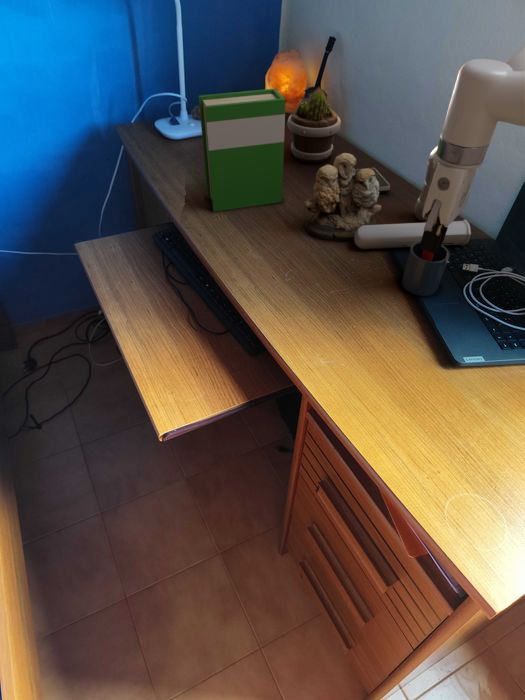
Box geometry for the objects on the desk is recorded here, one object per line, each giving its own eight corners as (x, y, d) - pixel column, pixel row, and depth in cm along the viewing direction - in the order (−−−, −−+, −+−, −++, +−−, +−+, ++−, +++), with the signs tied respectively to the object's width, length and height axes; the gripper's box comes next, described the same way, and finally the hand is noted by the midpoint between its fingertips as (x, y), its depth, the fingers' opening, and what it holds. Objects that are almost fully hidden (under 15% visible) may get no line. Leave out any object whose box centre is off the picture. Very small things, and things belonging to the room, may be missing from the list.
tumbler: (443, 282, 95) (455, 249, 89) (429, 300, 91) (440, 267, 85) (410, 269, 98) (419, 236, 92) (395, 286, 94) (404, 253, 88)
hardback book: (213, 211, 114) (205, 107, 97) (207, 197, 119) (198, 95, 102) (281, 201, 118) (285, 99, 100) (273, 188, 123) (275, 88, 105)
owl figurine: (308, 245, 104) (315, 171, 92) (296, 218, 112) (300, 147, 100) (384, 237, 107) (400, 164, 94) (366, 211, 115) (379, 140, 102)
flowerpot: (285, 145, 141) (288, 71, 127) (335, 146, 141) (344, 72, 127) (284, 166, 131) (288, 89, 117) (339, 167, 131) (349, 90, 117)
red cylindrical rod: (426, 281, 94) (445, 219, 84) (422, 286, 93) (441, 224, 83) (416, 277, 95) (435, 216, 85) (412, 282, 94) (431, 221, 84)
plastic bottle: (422, 208, 116) (446, 125, 101) (445, 220, 112) (473, 135, 97) (406, 217, 113) (428, 133, 98) (429, 229, 109) (455, 143, 95)
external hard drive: (373, 174, 128) (374, 167, 127) (389, 193, 121) (391, 186, 119) (349, 177, 127) (350, 170, 126) (364, 196, 120) (365, 189, 118)
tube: (358, 239, 99) (473, 234, 100) (354, 220, 101) (466, 215, 102) (353, 255, 104) (463, 249, 105) (350, 235, 106) (457, 231, 107)
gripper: (467, 174, 69) (432, 274, 82) (500, 139, 78) (464, 235, 91) (419, 160, 72) (394, 259, 85) (456, 128, 81) (428, 222, 94)
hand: (430, 246), depth 88 cm, fingers closed on red cylindrical rod, 2 cm apart
